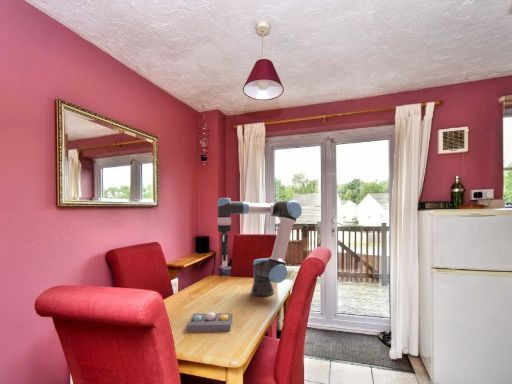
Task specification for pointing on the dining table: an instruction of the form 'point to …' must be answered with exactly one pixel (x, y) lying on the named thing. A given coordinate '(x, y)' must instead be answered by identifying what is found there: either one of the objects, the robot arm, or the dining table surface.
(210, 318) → the button white
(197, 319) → the button teal
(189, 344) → the dining table surface
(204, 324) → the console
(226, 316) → the button ochre
